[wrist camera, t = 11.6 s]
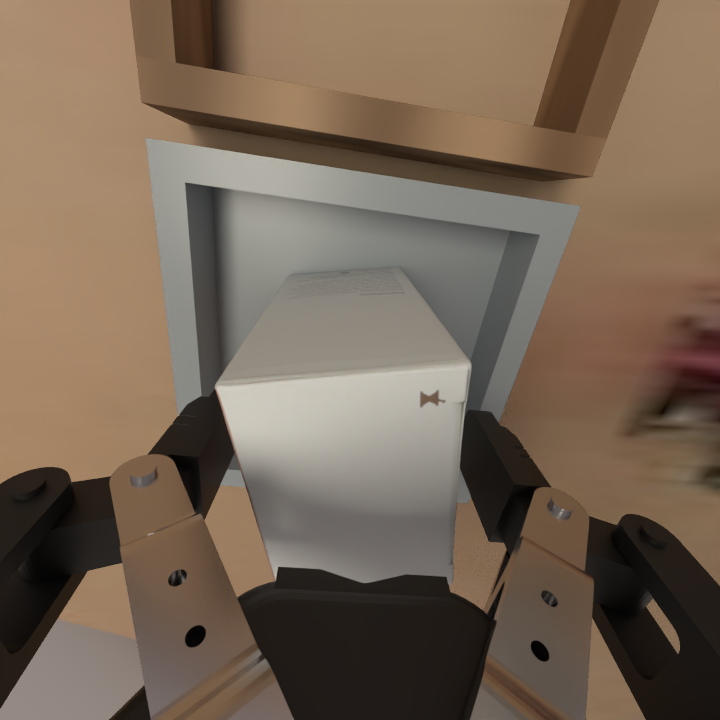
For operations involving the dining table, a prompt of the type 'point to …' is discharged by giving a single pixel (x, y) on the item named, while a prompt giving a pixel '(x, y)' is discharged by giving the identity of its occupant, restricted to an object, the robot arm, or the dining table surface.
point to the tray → (344, 257)
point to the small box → (350, 426)
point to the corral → (394, 119)
